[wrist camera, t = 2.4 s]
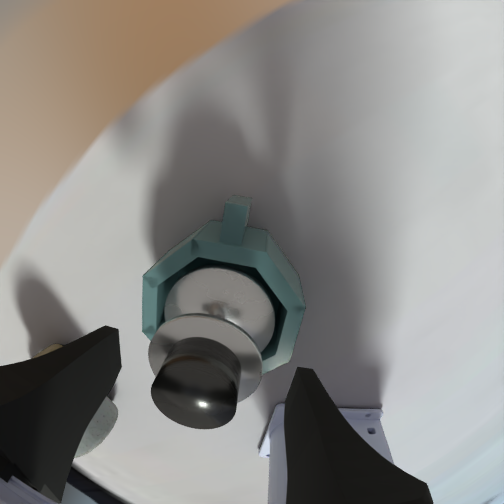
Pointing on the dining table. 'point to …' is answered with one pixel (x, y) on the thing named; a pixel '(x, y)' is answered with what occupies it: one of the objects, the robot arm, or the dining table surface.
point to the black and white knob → (210, 345)
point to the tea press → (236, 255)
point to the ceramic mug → (93, 420)
